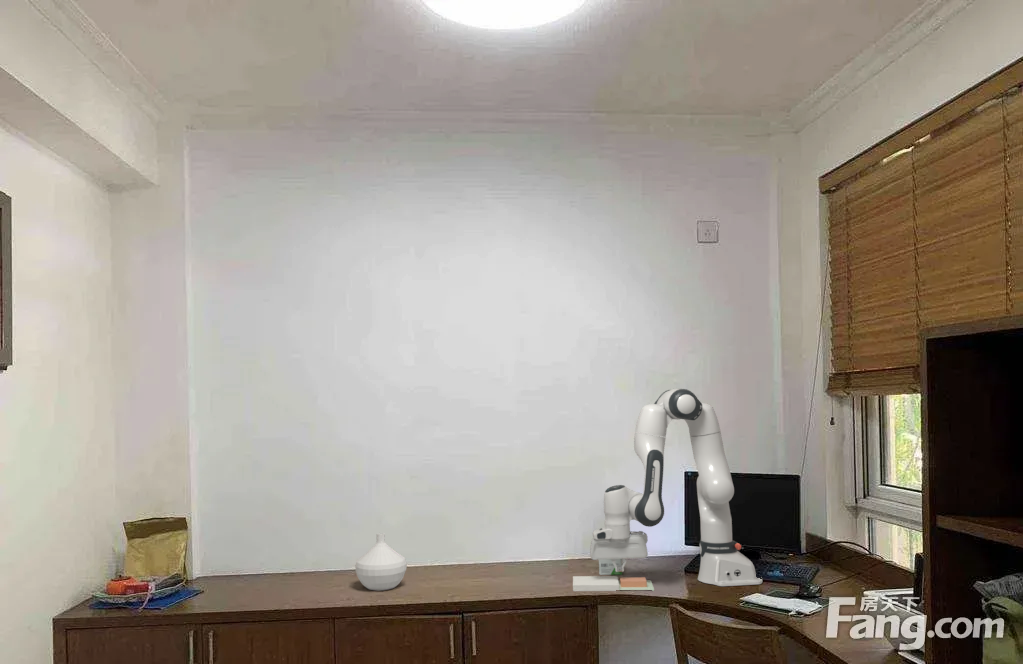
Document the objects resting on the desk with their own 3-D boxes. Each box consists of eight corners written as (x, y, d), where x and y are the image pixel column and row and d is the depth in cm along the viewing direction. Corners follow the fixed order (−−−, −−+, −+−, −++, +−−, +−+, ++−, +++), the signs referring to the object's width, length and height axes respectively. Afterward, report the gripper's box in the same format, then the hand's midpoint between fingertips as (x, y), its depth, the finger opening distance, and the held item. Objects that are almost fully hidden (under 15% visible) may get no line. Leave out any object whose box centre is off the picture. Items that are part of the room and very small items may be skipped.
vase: (380, 578, 325) (380, 527, 326) (417, 584, 315) (416, 531, 316) (344, 589, 310) (344, 535, 311) (382, 596, 300) (381, 540, 301)
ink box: (622, 571, 328) (621, 540, 328) (622, 575, 323) (621, 542, 323) (598, 571, 329) (598, 540, 329) (598, 575, 324) (598, 543, 324)
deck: (617, 581, 313) (617, 576, 313) (619, 590, 300) (619, 585, 300) (573, 581, 314) (572, 576, 314) (573, 591, 301) (572, 585, 301)
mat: (651, 581, 312) (650, 580, 312) (654, 590, 299) (654, 589, 299) (617, 581, 313) (617, 580, 313) (619, 590, 300) (619, 589, 300)
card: (645, 582, 309) (645, 577, 309) (646, 587, 303) (646, 581, 303) (619, 582, 309) (619, 577, 310) (620, 587, 303) (620, 581, 304)
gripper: (646, 529, 310) (648, 568, 309) (588, 531, 311) (590, 570, 310) (647, 532, 303) (650, 572, 303) (589, 534, 305) (591, 574, 304)
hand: (619, 571), depth 306 cm, fingers closed
